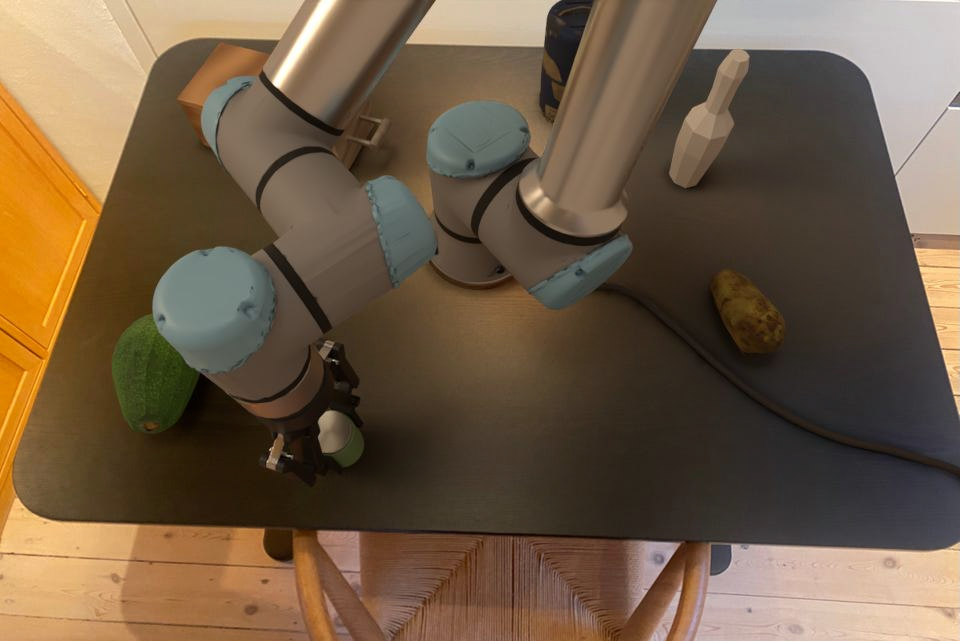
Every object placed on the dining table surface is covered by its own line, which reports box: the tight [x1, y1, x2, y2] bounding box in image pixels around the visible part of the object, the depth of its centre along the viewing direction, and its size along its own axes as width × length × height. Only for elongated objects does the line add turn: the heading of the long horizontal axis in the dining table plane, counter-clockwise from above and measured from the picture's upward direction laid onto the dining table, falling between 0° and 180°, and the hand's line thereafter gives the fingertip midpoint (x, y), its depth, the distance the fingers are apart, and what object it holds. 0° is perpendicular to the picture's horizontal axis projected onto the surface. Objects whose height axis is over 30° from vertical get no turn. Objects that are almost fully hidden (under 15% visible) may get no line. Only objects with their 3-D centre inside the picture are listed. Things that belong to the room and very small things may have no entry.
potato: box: [710, 268, 787, 357], centre depth 78 cm, size 8×13×8 cm, turn 171°
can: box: [318, 409, 365, 469], centre depth 70 cm, size 5×5×6 cm
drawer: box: [331, 96, 392, 171], centre depth 91 cm, size 18×11×8 cm, turn 71°
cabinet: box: [176, 41, 272, 148], centre depth 93 cm, size 15×13×10 cm
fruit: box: [111, 313, 201, 435], centre depth 73 cm, size 15×10×10 cm, turn 1°
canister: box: [538, 0, 594, 122], centre depth 91 cm, size 10×10×18 cm
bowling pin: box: [668, 48, 751, 189], centre depth 83 cm, size 6×6×22 cm
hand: (342, 445), depth 72 cm, fingers closed on can, 5 cm apart
